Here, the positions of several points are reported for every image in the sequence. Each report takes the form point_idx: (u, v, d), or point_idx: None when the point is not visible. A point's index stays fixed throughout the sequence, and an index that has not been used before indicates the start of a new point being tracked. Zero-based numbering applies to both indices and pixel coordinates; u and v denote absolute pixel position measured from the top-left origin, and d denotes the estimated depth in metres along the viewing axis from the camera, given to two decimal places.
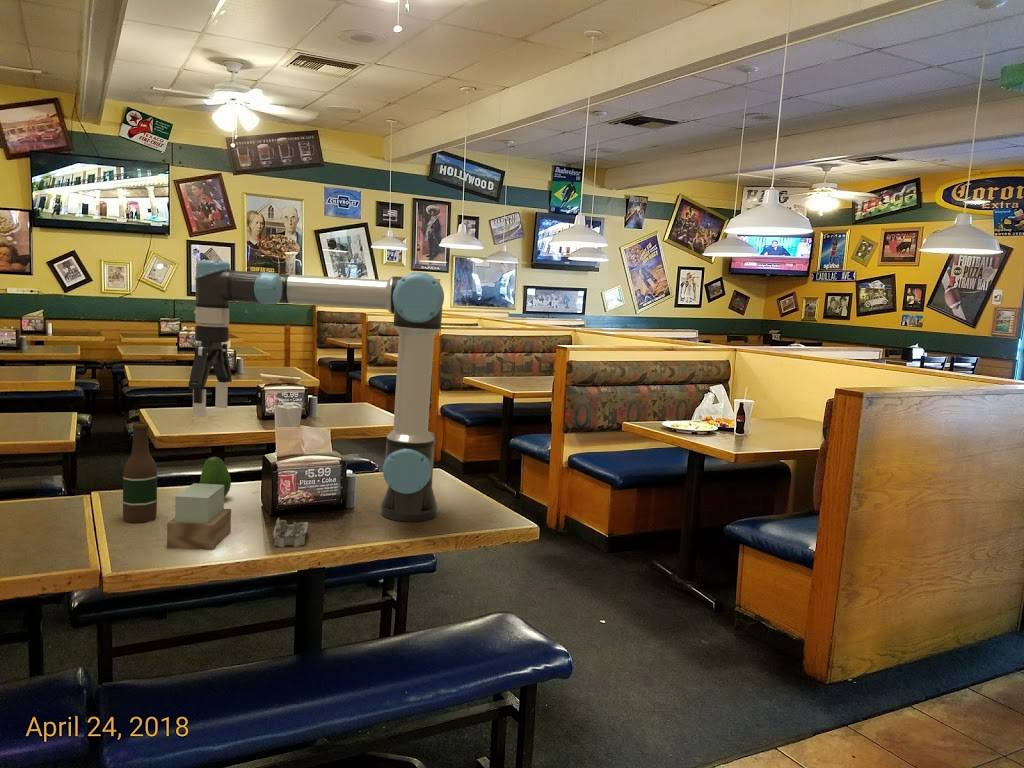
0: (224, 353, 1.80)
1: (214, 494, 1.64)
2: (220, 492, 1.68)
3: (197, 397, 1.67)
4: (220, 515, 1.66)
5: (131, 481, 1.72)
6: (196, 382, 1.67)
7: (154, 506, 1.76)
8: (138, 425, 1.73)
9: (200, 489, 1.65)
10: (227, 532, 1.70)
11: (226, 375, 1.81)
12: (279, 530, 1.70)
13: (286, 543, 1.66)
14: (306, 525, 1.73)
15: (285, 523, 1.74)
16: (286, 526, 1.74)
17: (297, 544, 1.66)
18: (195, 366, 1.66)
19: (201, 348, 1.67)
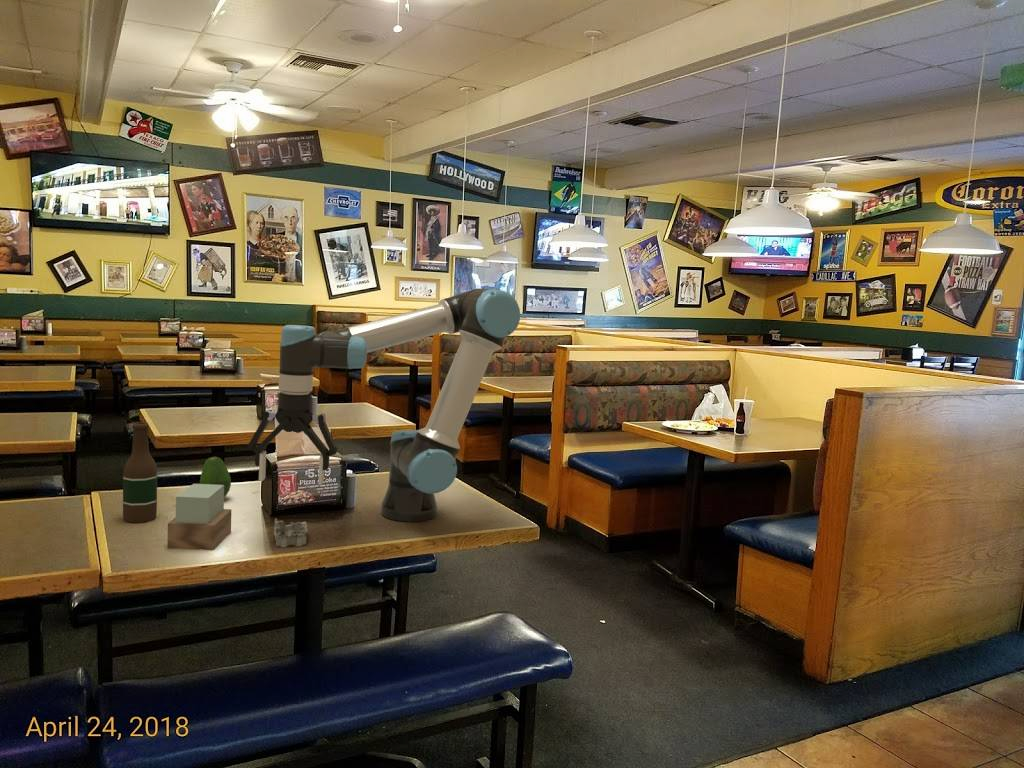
0: None
1: (214, 494, 1.64)
2: (220, 492, 1.68)
3: None
4: (220, 516, 1.66)
5: (131, 481, 1.72)
6: None
7: (154, 506, 1.76)
8: (138, 425, 1.73)
9: (200, 489, 1.65)
10: (227, 532, 1.70)
11: (321, 449, 1.67)
12: (278, 530, 1.70)
13: (288, 543, 1.66)
14: (305, 525, 1.73)
15: (282, 523, 1.74)
16: (283, 526, 1.74)
17: (299, 543, 1.66)
18: None
19: (264, 412, 1.66)
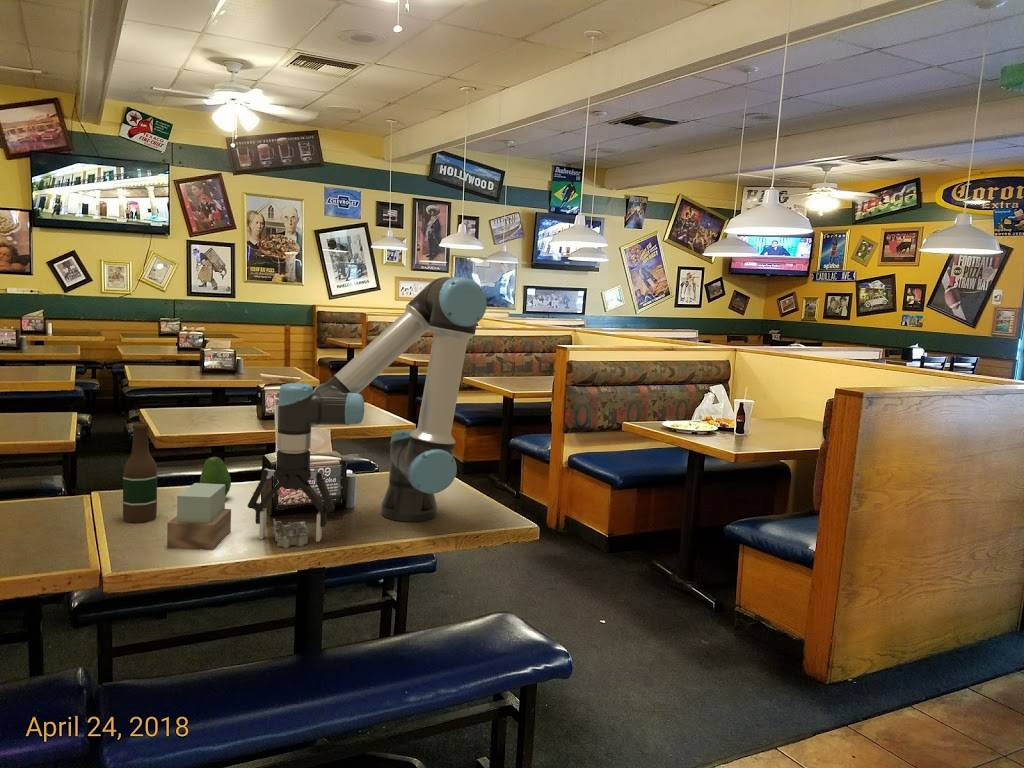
0: None
1: (216, 493, 1.64)
2: (221, 491, 1.68)
3: None
4: (220, 515, 1.66)
5: (131, 481, 1.72)
6: None
7: (154, 506, 1.76)
8: (138, 425, 1.73)
9: (202, 488, 1.66)
10: (227, 532, 1.70)
11: (318, 506, 1.68)
12: (278, 531, 1.69)
13: (290, 543, 1.66)
14: (303, 524, 1.73)
15: (280, 524, 1.74)
16: (281, 527, 1.73)
17: (301, 543, 1.66)
18: None
19: (263, 470, 1.67)
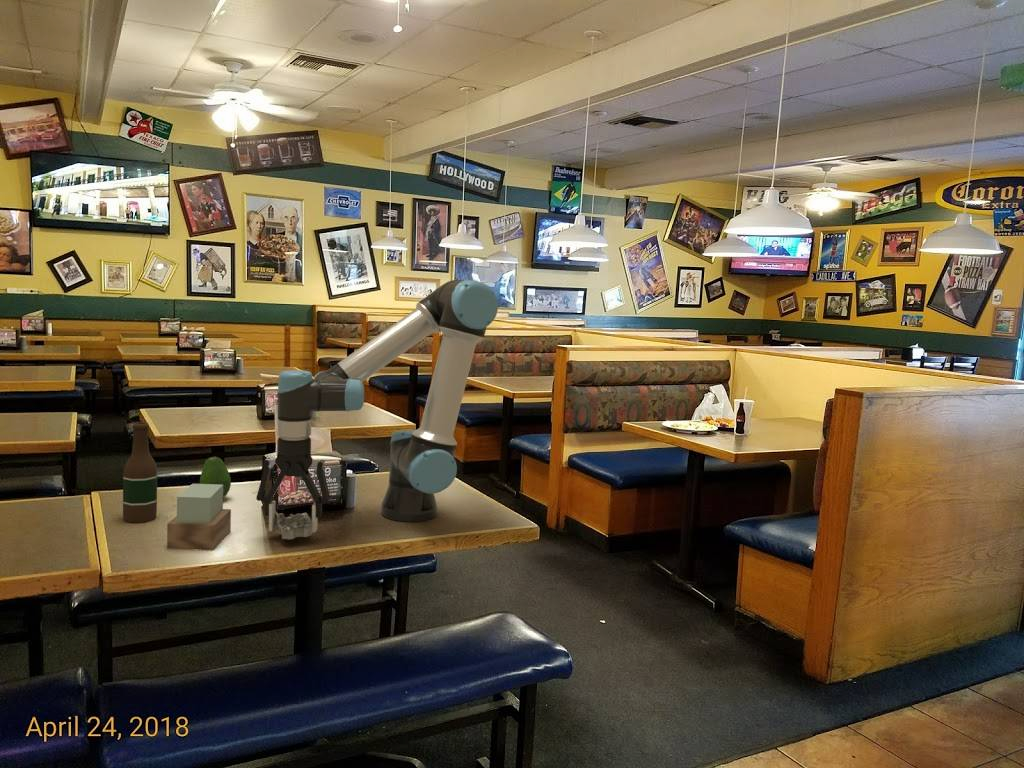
0: None
1: (215, 494, 1.64)
2: (220, 492, 1.68)
3: None
4: (220, 516, 1.66)
5: (131, 481, 1.72)
6: None
7: (154, 506, 1.76)
8: (138, 425, 1.73)
9: (200, 489, 1.65)
10: (227, 532, 1.70)
11: (314, 497, 1.68)
12: (281, 523, 1.69)
13: (294, 534, 1.66)
14: (306, 515, 1.73)
15: (282, 516, 1.73)
16: (284, 519, 1.73)
17: (306, 534, 1.66)
18: None
19: (264, 461, 1.67)
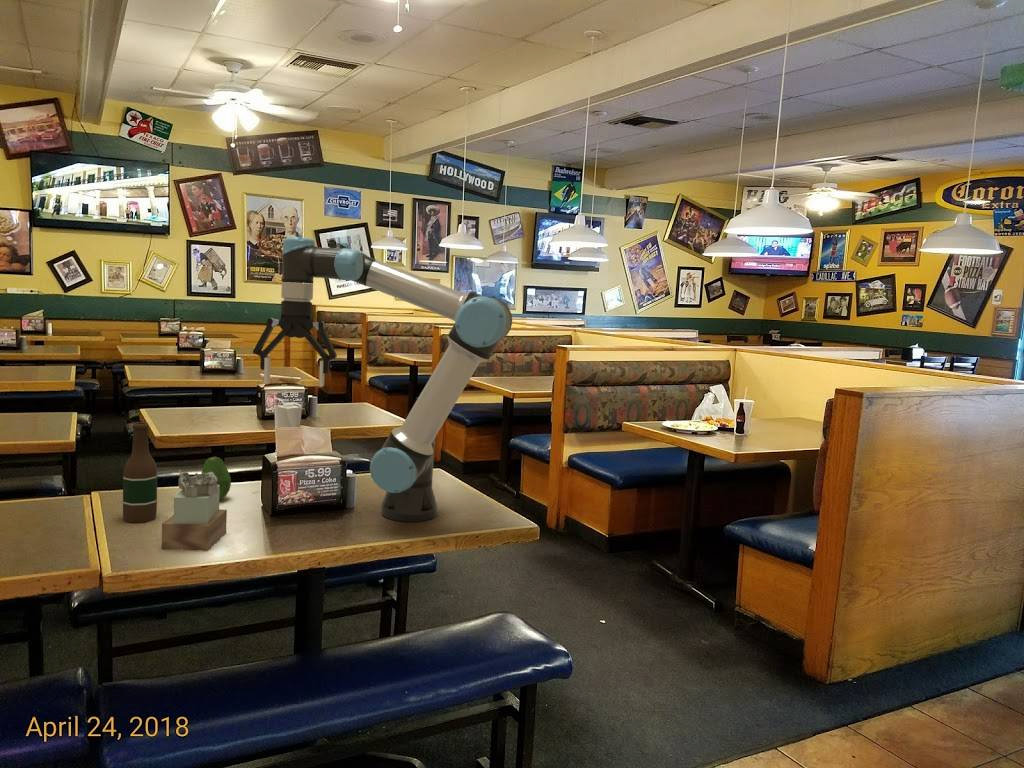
0: None
1: None
2: None
3: None
4: (215, 516, 1.65)
5: (131, 481, 1.72)
6: None
7: (154, 506, 1.76)
8: (138, 425, 1.73)
9: None
10: (223, 533, 1.69)
11: (321, 353, 1.80)
12: (185, 481, 1.63)
13: (198, 492, 1.60)
14: (212, 474, 1.67)
15: (186, 475, 1.67)
16: (188, 478, 1.67)
17: (211, 492, 1.61)
18: None
19: None
